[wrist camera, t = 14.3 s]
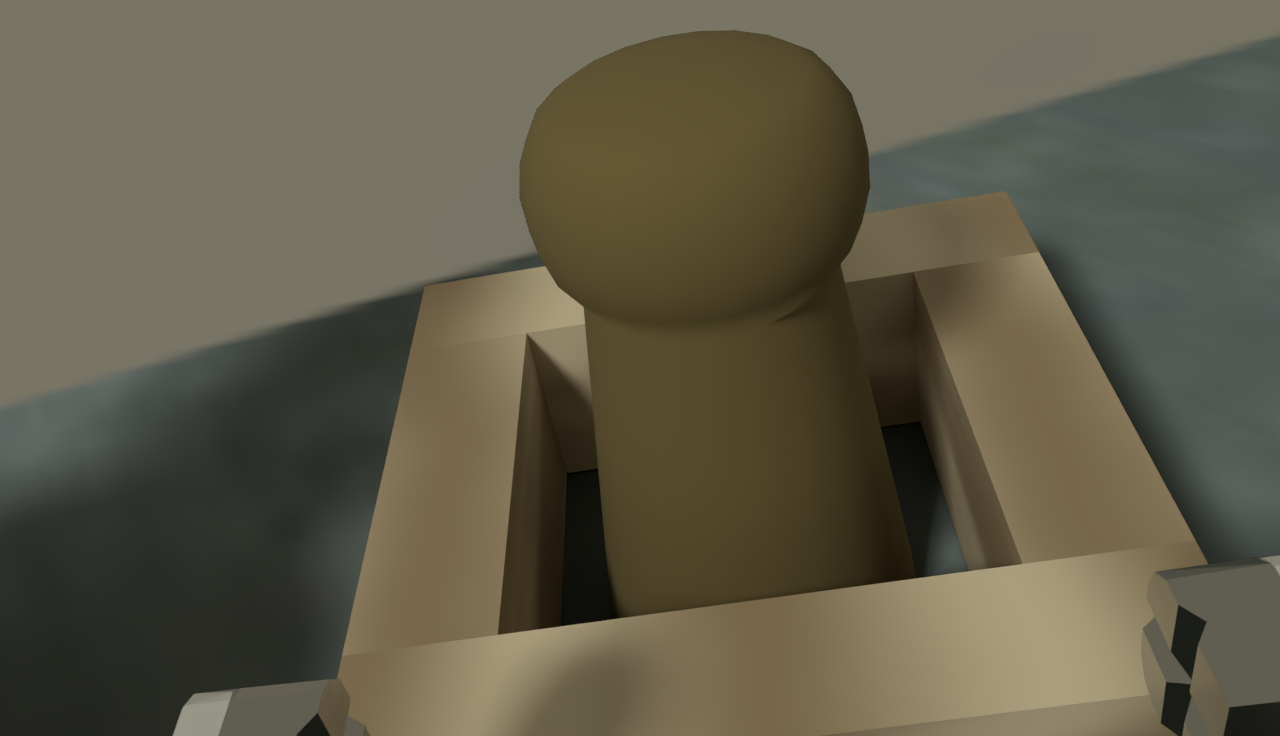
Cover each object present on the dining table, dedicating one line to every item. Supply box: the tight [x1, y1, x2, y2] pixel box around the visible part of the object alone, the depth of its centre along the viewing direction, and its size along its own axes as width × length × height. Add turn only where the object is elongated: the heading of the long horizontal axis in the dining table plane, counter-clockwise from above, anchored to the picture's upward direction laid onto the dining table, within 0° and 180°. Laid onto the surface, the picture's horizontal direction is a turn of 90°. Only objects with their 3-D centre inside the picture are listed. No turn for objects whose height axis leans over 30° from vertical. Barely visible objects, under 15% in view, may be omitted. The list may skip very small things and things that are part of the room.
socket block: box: [337, 191, 1208, 736], centre depth 22 cm, size 13×13×4 cm
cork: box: [520, 30, 916, 619], centre depth 20 cm, size 6×6×11 cm
